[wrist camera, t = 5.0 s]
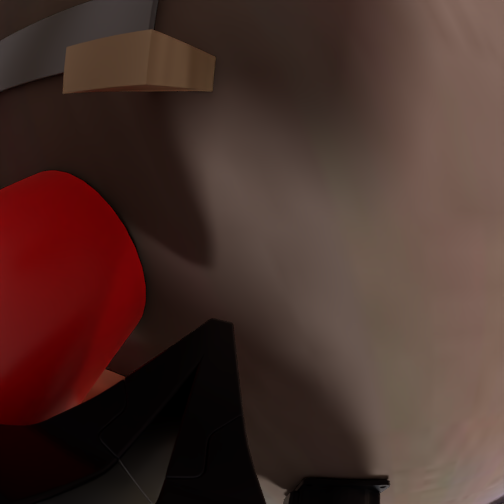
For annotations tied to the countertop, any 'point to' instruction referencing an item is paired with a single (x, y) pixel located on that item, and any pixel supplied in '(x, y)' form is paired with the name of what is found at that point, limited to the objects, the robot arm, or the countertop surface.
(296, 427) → the countertop surface
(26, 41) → the wooden box
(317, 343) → the countertop surface
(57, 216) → the mug
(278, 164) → the countertop surface
